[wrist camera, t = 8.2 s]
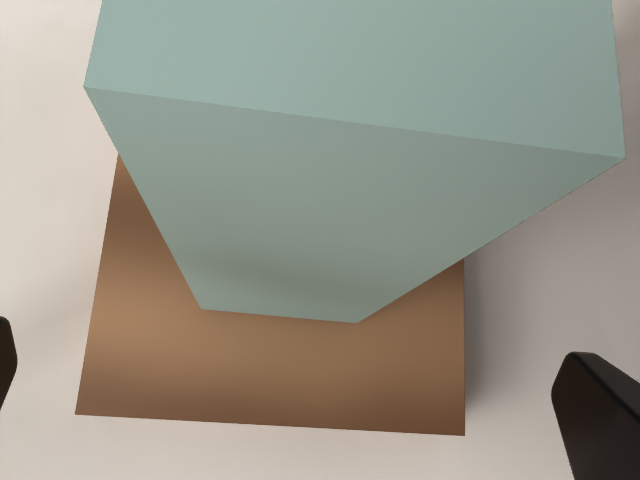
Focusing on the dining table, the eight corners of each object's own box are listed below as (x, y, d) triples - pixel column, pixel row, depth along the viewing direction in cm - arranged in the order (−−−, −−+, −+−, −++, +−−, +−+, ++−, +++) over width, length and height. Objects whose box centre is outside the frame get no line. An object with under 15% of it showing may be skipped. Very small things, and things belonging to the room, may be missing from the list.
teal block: (356, 323, 18) (625, 158, 5) (201, 309, 17) (83, 86, 5) (364, 180, 19) (590, -220, 7) (220, 163, 18) (171, -307, 6)
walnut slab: (436, 427, 20) (465, 435, 17) (103, 409, 19) (74, 414, 16) (437, 130, 23) (462, 95, 20) (151, 102, 22) (133, 60, 19)
